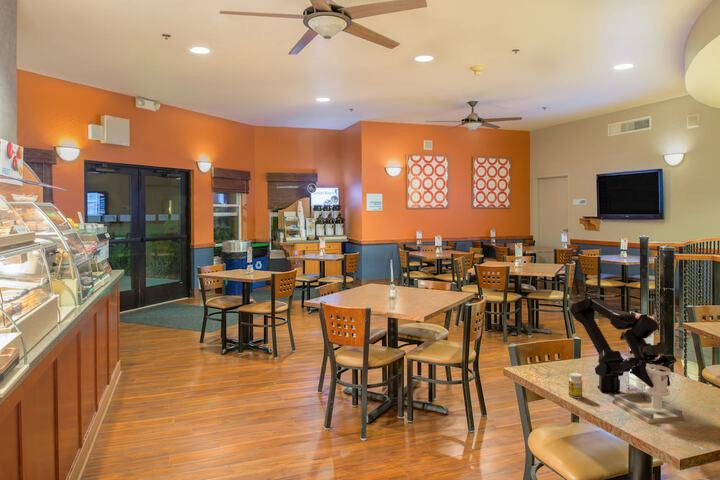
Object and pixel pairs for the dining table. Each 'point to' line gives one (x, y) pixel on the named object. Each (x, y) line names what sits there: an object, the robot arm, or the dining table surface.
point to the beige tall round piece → (657, 384)
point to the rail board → (646, 408)
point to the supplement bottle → (575, 385)
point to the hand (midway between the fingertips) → (660, 386)
